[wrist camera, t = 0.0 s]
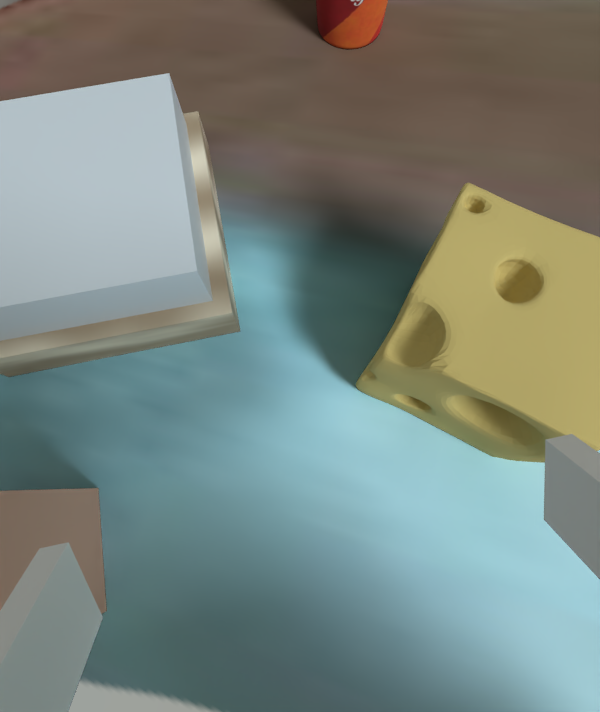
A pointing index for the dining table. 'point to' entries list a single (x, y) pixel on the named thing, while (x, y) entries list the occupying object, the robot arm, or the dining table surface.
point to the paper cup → (350, 21)
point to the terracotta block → (51, 534)
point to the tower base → (150, 326)
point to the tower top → (97, 207)
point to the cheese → (499, 332)
